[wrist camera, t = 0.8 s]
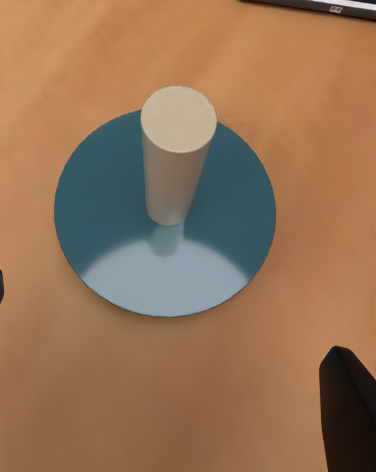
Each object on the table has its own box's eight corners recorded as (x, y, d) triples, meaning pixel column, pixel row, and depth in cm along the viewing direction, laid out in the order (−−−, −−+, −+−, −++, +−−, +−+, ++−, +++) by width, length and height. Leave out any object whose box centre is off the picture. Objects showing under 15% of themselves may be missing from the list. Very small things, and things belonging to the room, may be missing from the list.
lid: (215, 359, 21) (272, 382, 11) (13, 251, 21) (-103, 181, 11) (300, 173, 24) (399, 67, 15) (127, 85, 25) (111, -73, 15)
